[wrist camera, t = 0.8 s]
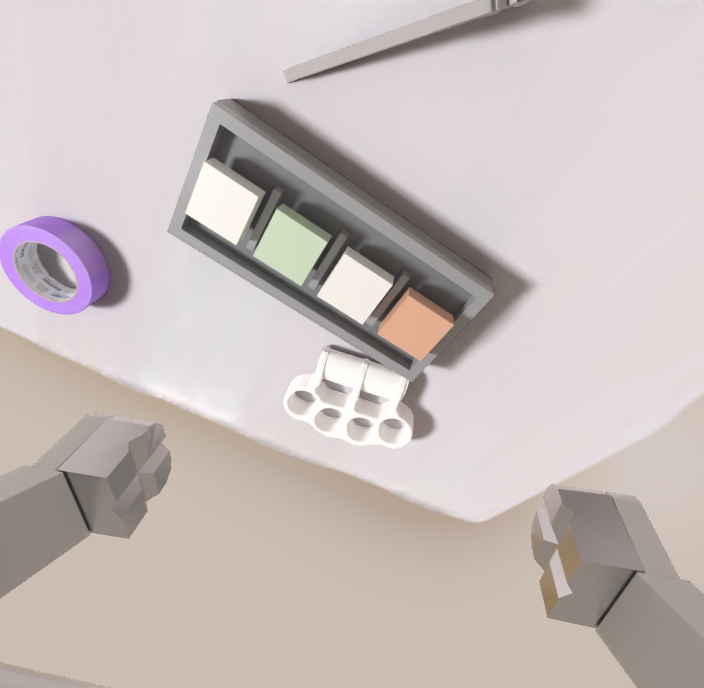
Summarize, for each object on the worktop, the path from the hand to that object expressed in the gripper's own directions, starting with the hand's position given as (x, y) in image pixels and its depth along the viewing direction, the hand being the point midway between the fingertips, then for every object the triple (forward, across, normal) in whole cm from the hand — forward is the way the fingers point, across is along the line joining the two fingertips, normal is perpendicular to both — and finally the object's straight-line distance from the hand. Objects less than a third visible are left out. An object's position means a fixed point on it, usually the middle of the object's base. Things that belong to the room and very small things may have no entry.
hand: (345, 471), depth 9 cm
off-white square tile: (+35, +4, +11) cm, 37 cm away
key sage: (+35, +11, +7) cm, 37 cm away
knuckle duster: (+40, +4, +30) cm, 50 cm away
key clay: (+35, -2, +14) cm, 38 cm away
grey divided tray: (+39, +8, +9) cm, 41 cm away
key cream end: (+35, +17, +4) cm, 39 cm away
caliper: (+39, +3, -10) cm, 40 cm away
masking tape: (+40, +43, +15) cm, 60 cm away
